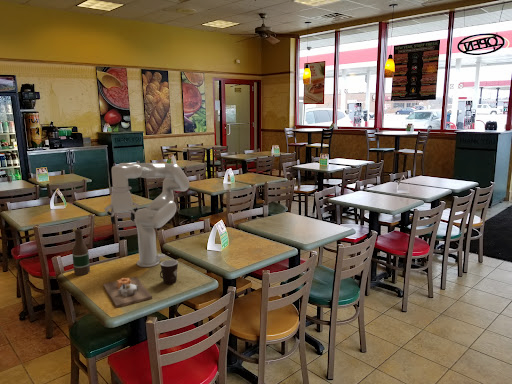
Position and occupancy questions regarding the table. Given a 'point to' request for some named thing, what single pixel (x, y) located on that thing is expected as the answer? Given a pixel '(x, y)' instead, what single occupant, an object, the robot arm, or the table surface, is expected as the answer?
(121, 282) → the terracotta gear
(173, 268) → the coffee mug
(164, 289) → the table surface
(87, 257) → the beer bottle
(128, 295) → the gear board
